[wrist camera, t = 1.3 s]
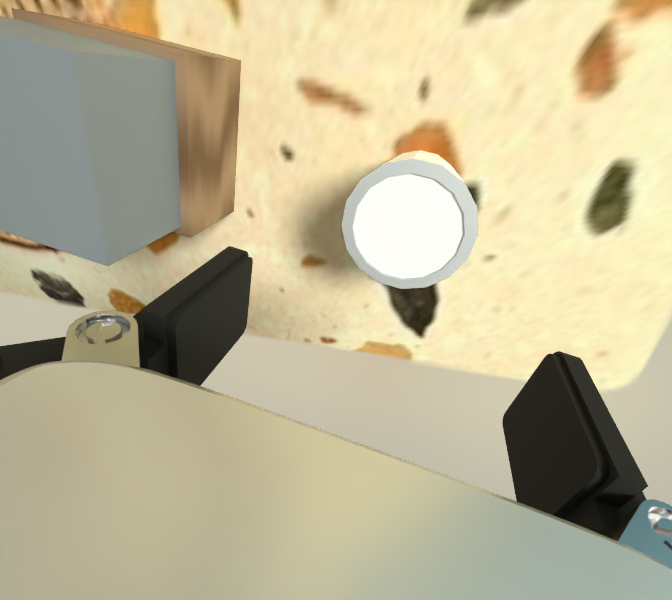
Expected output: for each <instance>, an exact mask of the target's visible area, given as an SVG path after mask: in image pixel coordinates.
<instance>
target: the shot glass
mask: <svg viewBox="0 0 672 600" xmlns="http://www.w3.org/2000/svg"><path fill="white" fill-rule="evenodd" d="M341 226H342V231H343V236H344V240H345V245H346V249H347V251H348V252H349V254H350V255H351V257H352V258H353V260H354V261H355V263H356V264H357V266H358V267H359V269H361V270H362V271H363V272H365V273H366V274H368V275H369V276H370V277H372V278H373V279H375V280H376V281H377V282H379V283H383V284H386V285H390V286H394V287H397V288H401V289H406V288H421V287H428V286H430V285H432V284H435V283H437V282H439V281H441V280H444V279H446V278H448V277H450V276H451V275H452V274H453V273H454V272H455V271H456V270H457V269H458V268H459V267H460V266H461V265H462V264H463V263H464V262H465V261H466V260H467V259H468V257H469V255H470V252H471V250H472V248H473V245H474V243H475V241H476V238H477V236H478V215H477V206H476V204H475V202H474V200H473V198H472V196H471V194H470V192H469V190H468V188H467V186H466V184H465V183H464V181H463V180H462V179H461V178H460V176H459V175H458V174H457V172H456V171H455V170H454V169H453V167H452V166H451V165H450V164H449V163H448V162H446V161H445V160H444V159H442V158H441V157H440V156H439V155H437V154H434V153H430V152H426V151H421V150H418V151H412V152H407V153H402V154H400V155H398V156H397V157H395V158H393V159H392V160H390V161H388V162H386V163H385V164H383V165H382V166H380V167H379V168H377V169H375V170H374V171H372V172H371V173H369V174H368V175H366V176H365V177H363V178H362V179H361V180H360V181H359V183H358V184H357V186H356V187H355V189H354V190H353V191H352V193H351V194H350V196H349V197H348V199H347V200H346V204H345V209H344V215H343V220H342V225H341Z"/></svg>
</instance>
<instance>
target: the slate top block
mask: <svg viewBox="0 0 672 600" xmlns="http://www.w3.org/2000/svg"><path fill="white" fill-rule="evenodd" d="M179 227H181V210H180V185H179V159H178V134H177V108H176V83H175V61H174V60H170V59H167V58H163V57H159V56H155V55H152V54H148V53H144V52H140V51H137V50H133V49H129V48H125V47H121V46H118V45H114V44H110V43H106V42H103V41H99V40H95V39H91V38H88V37H84V36H80V35H76V34H73V33H69V32H65V31H61V30H58V29H54V28H50V27H46V26H43V25H39V24H35V23H31V22H27V21H24V20H20V19H13V18H7V17H0V230H2V231H5V232H8V233H11V234H14V235H17V236H20V237H23V238H26V239H29V240H32V241H34V242H37V243H40V244H43V245H46V246H49V247H52V248H55V249H58V250H61V251H64V252H67V253H70V254H73V255H76V256H79V257H82V258H85V259H88V260H91V261H94V262H97V263H100V264H103V265H106V266H109V265H111V264H113V263H115V262H117V261H119V260H120V259H122V258H124V257H126V256H128V255H130V254H131V253H133V252H135V251H137V250H139V249H141V248H143V247H144V246H146V245H148V244H150V243H152V242H154V241H155V240H157V239H159V238H161V237H163V236H165V235H166V234H168V233H170V232H172V231H174V230H176V229H178V228H179Z"/></svg>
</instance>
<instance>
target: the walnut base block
mask: <svg viewBox="0 0 672 600" xmlns="http://www.w3.org/2000/svg"><path fill="white" fill-rule="evenodd" d="M12 13H13V17H14V19H20V20H24V21H27V22H31V23H35V24H39V25H43V26H46V27H50V28H54V29H58V30H61V31H65V32H69V33H73V34H76V35H80V36H84V37H88V38H91V39H95V40H99V41H103V42H106V43H110V44H114V45H118V46H121V47H125V48H129V49H133V50H137V51H140V52H144V53H148V54H152V55H155V56H159V57H163V58H167V59H170V60H174V61H175V83H176V108H177V134H178V159H179V185H180V210H181V227H179V228H178V229H176V230H174V231H172V232H174V233H177V234H180V235H183V236H186V237H189V238H190V237H192V236H193V235H195V234H197V233H198V232H200V231H202V230H203V229H205V228H207V227H208V226H210V225H212V224H213V223H215V222H217V221H218V220H220V219H222V218H223V217H225V216H227V215H228V214H230V213H231V212H233V211H234V196H235V175H236V154H237V134H238V113H239V92H240V71H241V60H237V59H233V58H229V57H225V56H222V55H218V54H214V53H210V52H206V51H202V50H199V49H195V48H191V47H187V46H183V45H179V44H175V43H172V42H168V41H164V40H160V39H156V38H152V37H149V36H145V35H141V34H137V33H133V32H129V31H126V30H122V29H118V28H114V27H110V26H106V25H103V24H98V23H92V22H86V21H81V20H75V19H70V18H64V17H58V16H53V15H47V14H41V13H36V12H30V11H25V10H19V9H13V8H12Z"/></svg>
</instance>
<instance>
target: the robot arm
mask: <svg viewBox="0 0 672 600" xmlns="http://www.w3.org/2000/svg"><path fill="white" fill-rule="evenodd" d="M251 273H252V258H251V257H248V253H247V252H246V251H243V250H240V249H237V248H234V247H230V246H229V247H227V248H226V249H225V250H223V251H222V252H220V253H219V254H218V255H216V256H215V257H213V258H212V259H211V260H209V261H208V262H206V263H205V264H204V265H202V266H201V267H200V268H198V269H197V270H195V271H194V272H193V273H191V274H190V275H188V276H187V277H186V278H184V279H183V280H182V281H180V282H179V283H177V284H176V285H175V286H173V287H172V288H170V289H169V290H168V291H166V292H165V293H163V294H162V295H161V296H159V297H158V298H157V299H155V300H154V301H152V302H151V303H150V304H148V305H147V306H145V307H144V308H143V309H141V311H140V312H139V313H137V314H136V315H134V316H133V317H132V316H131V315H129V314H127V313H124V312H119V311H100V312H94V313H91V314H88V315H85V316H83V317H81V318H79V319H77V320H76V321H74V322H73V323H72V324H71V325H70V326H69V329H68V331H67V334H66V337H61V338H54V339H48V340H41V341H34V342H27V343H21V344H14V345H6V346H0V600H672V506H670V505H668V504H666V503H664V502H661V501H658V500H654V499H652V500H646V498H645V496H644V494H643V492H642V491H643V490H644V489H645V488H646V487H648V485H647V483H646V481H645V479H644V477H643V476H642V474H641V472H640V470H639V468H638V466H637V464H636V462H635V460H634V458H633V457H632V455H631V453H630V451H629V449H628V447H627V445H626V443H625V441H624V439H623V438H622V436H621V434H620V432H619V430H618V428H617V426H616V424H615V422H614V421H613V419H612V417H611V415H610V413H609V411H608V409H607V407H606V405H605V404H604V401H603V400H602V398H601V396H600V394H599V392H598V390H597V388H596V386H595V384H594V382H593V380H592V379H591V377H590V375H589V373H588V371H587V369H586V367H585V365H584V363H583V361H582V360H581V359H580V358H578V357H575V356H572V355H569V354H566V353H563V352H559V351H558V352H555V353H554V354H548V355H546V357H545V358H544V359H543V361H542V362H541V363H540V365H539V366H538V367H537V369H536V370H535V372H534V373H533V374H532V376H531V377H530V379H529V380H528V381H527V383H526V384H525V386H524V387H523V388H522V390H521V391H520V393H519V394H518V395H517V397H516V398H515V400H514V401H513V402H512V404H511V405H510V407H509V408H508V410H507V411H506V413H505V414H504V417H503V429H504V434H505V440H506V445H507V451H508V456H509V461H510V467H511V472H512V477H513V483H514V488H515V494H516V499H517V502H516V501H514V500H511V499H508V498H506V497H503V496H500V495H498V494H495V493H492V492H489V491H487V490H484V489H481V488H479V487H476V486H473V485H471V484H468V483H465V482H463V481H460V480H457V479H455V478H452V477H449V476H447V475H444V474H441V473H439V472H436V471H433V470H431V469H428V468H425V467H422V466H420V465H417V464H414V463H412V462H409V461H406V460H403V459H401V458H398V457H395V456H392V455H390V454H387V453H384V452H382V451H379V450H376V449H373V448H370V447H368V446H365V445H362V444H360V443H357V442H354V441H351V440H349V439H346V438H343V437H341V436H338V435H335V434H332V433H329V432H327V431H324V430H321V429H318V428H316V427H313V426H310V425H307V424H305V423H302V422H299V421H296V420H294V419H291V418H288V417H285V416H283V415H280V414H277V413H274V412H271V411H269V410H266V409H263V408H260V407H258V406H254V405H252V404H249V403H246V402H244V401H241V400H238V399H235V398H232V397H230V396H227V395H224V394H221V393H218V392H215V391H213V390H210V389H207V388H204V387H201V386H200V385H201V384H202V383H203V382H204V381H205V379H206V378H207V377H208V376H209V374H210V373H211V372H212V371H213V370H214V368H215V367H216V366H217V365H218V364H219V362H220V361H221V360H222V359H223V358H224V356H225V355H226V354H227V353H228V351H229V350H230V349H231V348H232V347H233V345H234V344H235V343H236V342H237V341H238V339H239V338H240V337H241V336H242V334H243V333H244V331H245V329H246V325H247V316H248V305H249V295H250V284H251Z"/></svg>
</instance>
